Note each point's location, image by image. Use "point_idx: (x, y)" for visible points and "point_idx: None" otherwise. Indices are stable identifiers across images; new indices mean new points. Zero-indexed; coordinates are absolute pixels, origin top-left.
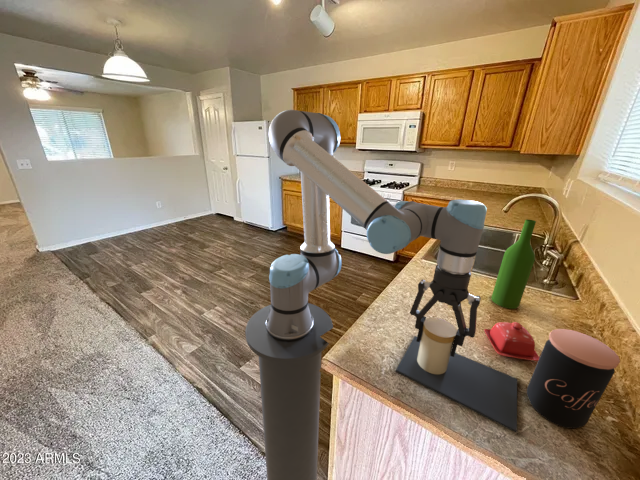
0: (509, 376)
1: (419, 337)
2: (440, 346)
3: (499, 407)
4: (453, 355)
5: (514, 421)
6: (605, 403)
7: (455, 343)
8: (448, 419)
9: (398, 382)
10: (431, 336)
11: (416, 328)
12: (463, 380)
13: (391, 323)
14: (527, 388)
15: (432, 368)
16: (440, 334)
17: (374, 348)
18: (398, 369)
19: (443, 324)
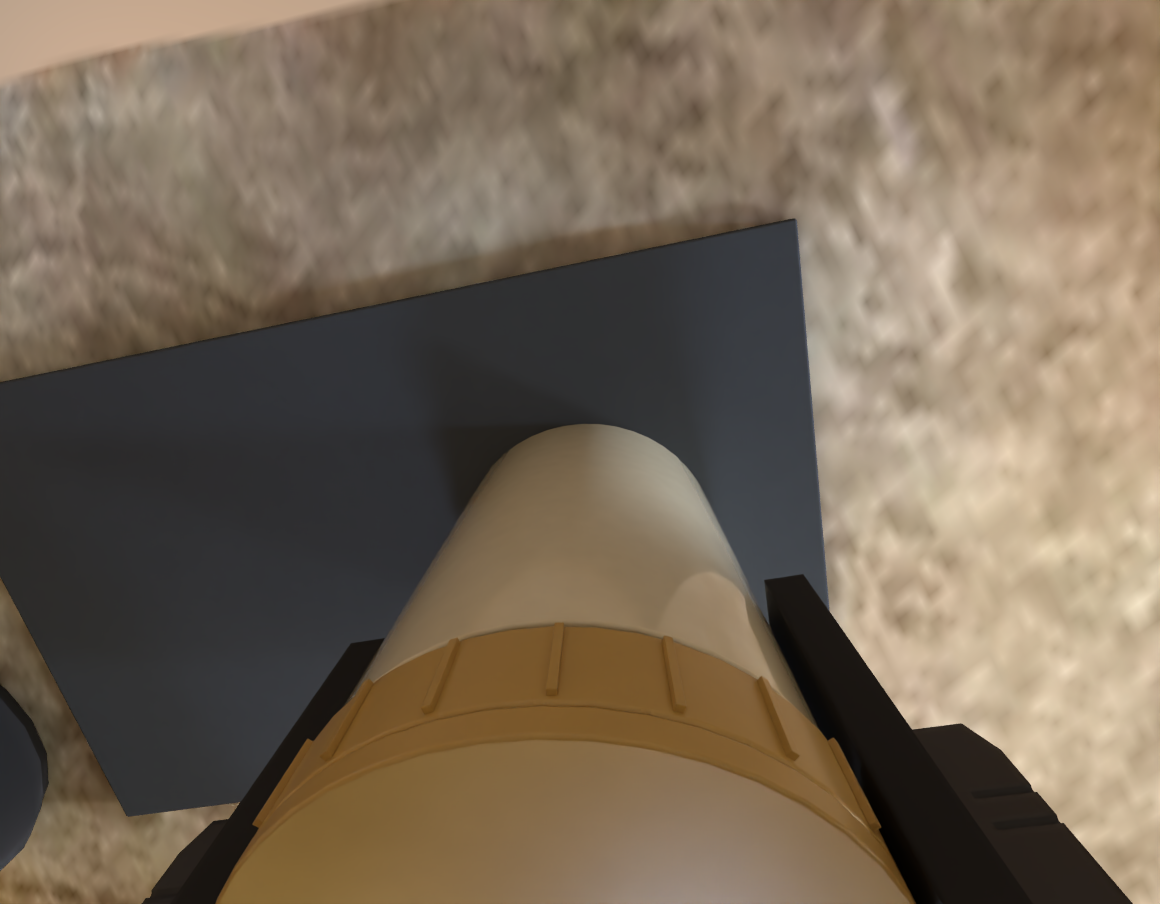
0: (162, 804)
1: (799, 622)
2: (431, 615)
3: (63, 505)
4: (348, 655)
5: None
6: None
7: (251, 815)
8: (233, 111)
9: (710, 118)
10: (594, 667)
11: (943, 727)
12: (333, 555)
13: (1081, 731)
14: (8, 776)
15: (530, 448)
16: (427, 834)
17: (1096, 323)
18: (780, 239)
19: None
